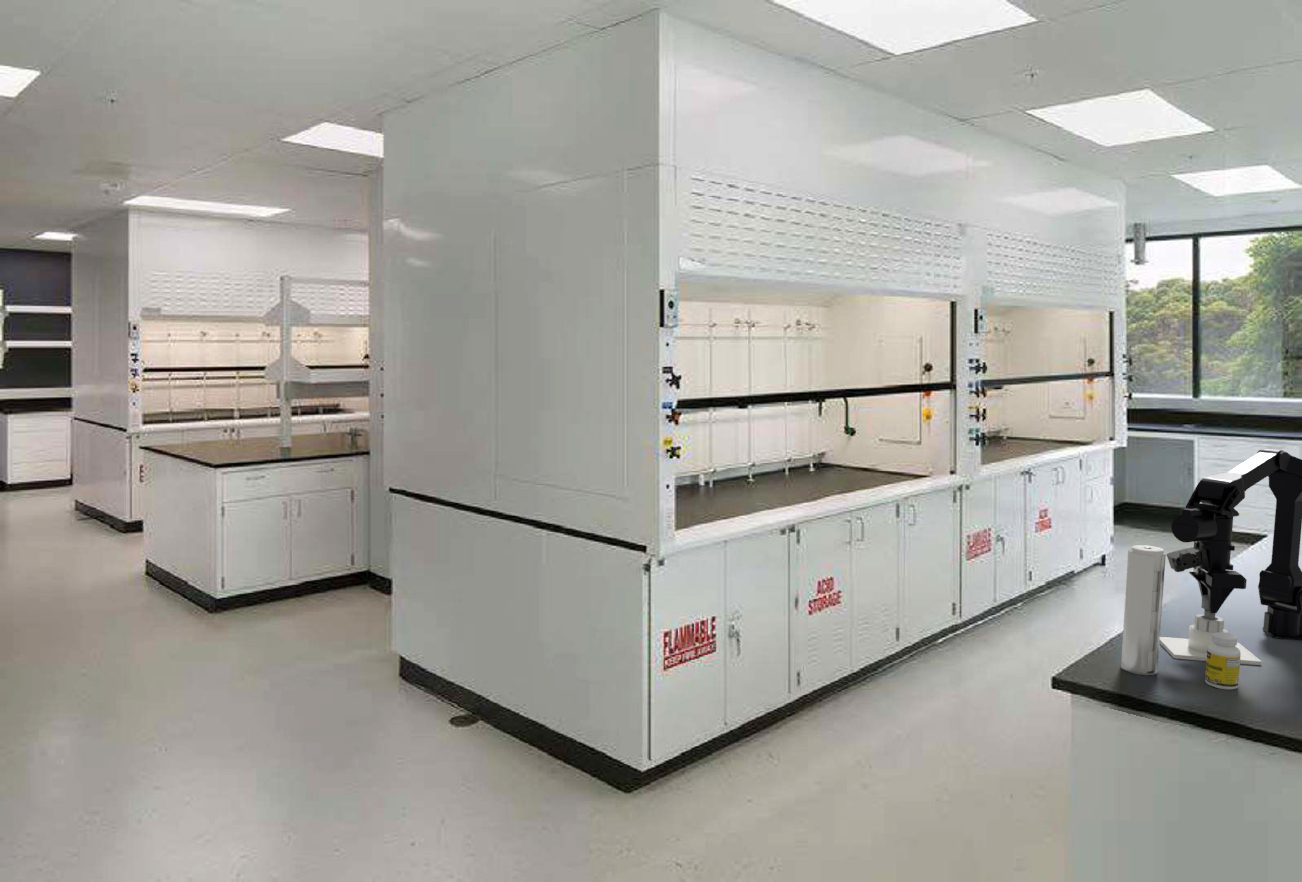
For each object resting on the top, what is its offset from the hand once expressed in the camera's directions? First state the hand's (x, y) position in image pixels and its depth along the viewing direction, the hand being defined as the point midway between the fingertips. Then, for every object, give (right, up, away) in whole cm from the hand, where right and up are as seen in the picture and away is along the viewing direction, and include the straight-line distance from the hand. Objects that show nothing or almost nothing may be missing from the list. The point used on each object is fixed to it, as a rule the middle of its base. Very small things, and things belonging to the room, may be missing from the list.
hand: (1210, 610), depth 188 cm
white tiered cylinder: (0, -9, +1) cm, 9 cm away
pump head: (0, -3, 0) cm, 3 cm away
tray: (0, -9, +1) cm, 9 cm away
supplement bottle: (-9, -11, -17) cm, 22 cm away
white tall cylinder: (-20, -10, -9) cm, 25 cm away
